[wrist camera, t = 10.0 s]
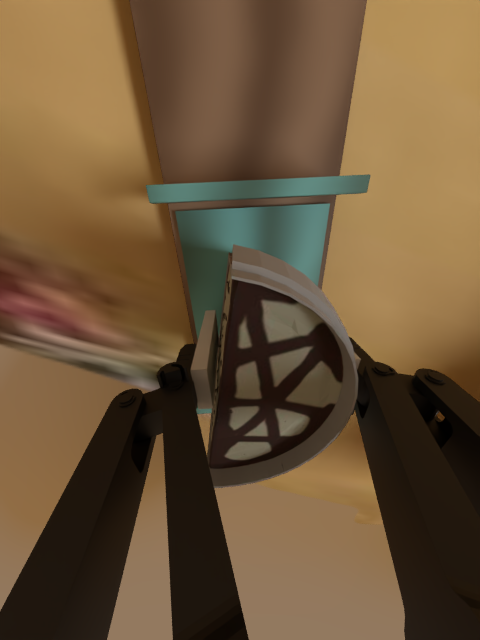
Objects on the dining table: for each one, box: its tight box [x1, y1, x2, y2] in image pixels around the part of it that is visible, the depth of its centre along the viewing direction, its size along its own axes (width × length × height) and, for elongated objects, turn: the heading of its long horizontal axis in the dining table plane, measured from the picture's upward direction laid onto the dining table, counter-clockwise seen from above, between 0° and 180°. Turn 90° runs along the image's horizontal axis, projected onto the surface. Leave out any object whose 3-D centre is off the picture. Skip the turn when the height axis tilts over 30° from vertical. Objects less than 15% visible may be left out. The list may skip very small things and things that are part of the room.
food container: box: [207, 244, 358, 488], centre depth 12 cm, size 12×6×10 cm, turn 172°
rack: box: [130, 0, 370, 414], centre depth 13 cm, size 12×36×5 cm, turn 3°
